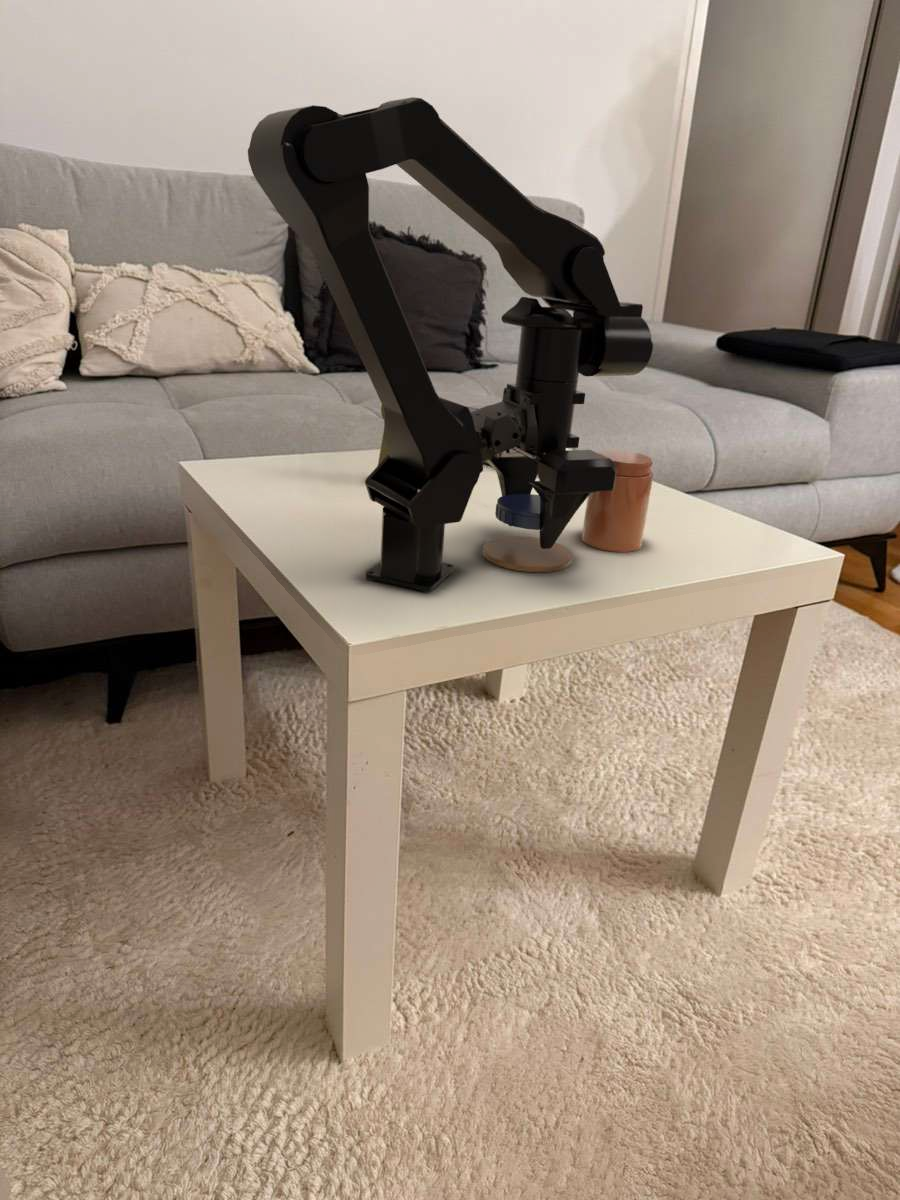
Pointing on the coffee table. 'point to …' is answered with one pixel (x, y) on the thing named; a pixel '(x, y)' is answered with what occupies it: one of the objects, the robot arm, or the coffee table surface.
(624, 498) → the jar
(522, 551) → the coaster
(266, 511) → the coffee table surface
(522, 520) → the jar lid
